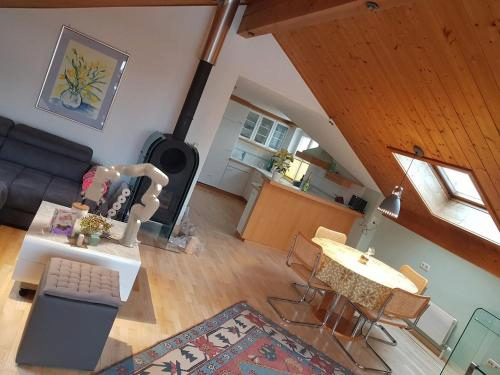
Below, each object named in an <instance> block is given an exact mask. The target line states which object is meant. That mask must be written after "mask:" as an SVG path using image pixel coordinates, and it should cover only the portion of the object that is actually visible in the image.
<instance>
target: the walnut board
mask: <svg viewBox="0 0 500 375" xmlns="http://www.w3.org/2000/svg"><path fill="white" fill-rule="evenodd" d="M79 234H81V233H80V232H78V231H75V232H74V235H72V234H71V235H67V234H66V237H67V240H68V243H69V246H70V247H73V248H80V249H89V248H88V245H87V243H86V240H85V238H84V239H83V242H82V244H81V246H77V245H76V243H77V240H78V237H79Z"/></svg>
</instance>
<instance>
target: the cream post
mask: <svg viewBox="0 0 500 375" xmlns="http://www.w3.org/2000/svg"><path fill="white" fill-rule="evenodd" d="M83 239H84V240H85V235H84V234H81V233H80V234H79V237H78V240H77V243H76V245H77V246H81V244H82V242H83Z"/></svg>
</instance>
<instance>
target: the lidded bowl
mask: <svg viewBox="0 0 500 375" xmlns="http://www.w3.org/2000/svg"><path fill="white" fill-rule="evenodd" d="M81 204H82V202H72V205H71V208H70V210H71V211H76V212H77V214H78V216H77V219H83V218H84V217H85V216H86V215H87V214H88V212H89V210H90V206H88V205H86V203H85V204H84V205H81Z"/></svg>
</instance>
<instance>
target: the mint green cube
mask: <svg viewBox="0 0 500 375" xmlns="http://www.w3.org/2000/svg"><path fill="white" fill-rule="evenodd" d="M100 240H101V238H100V236H99V235H98V234H91V233H90V235H89V238H88V242H87V243H88V245H89V246H90V247H98V246H99V242H100Z"/></svg>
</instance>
